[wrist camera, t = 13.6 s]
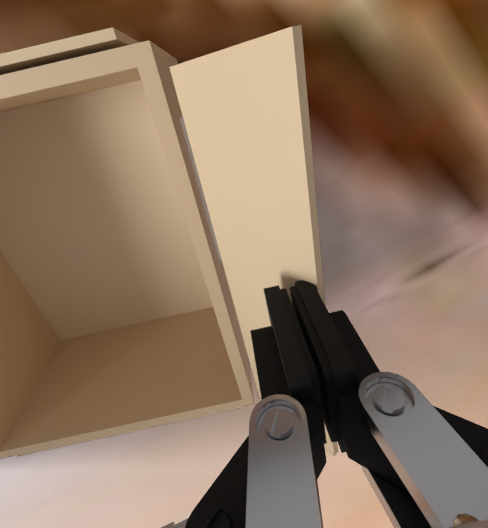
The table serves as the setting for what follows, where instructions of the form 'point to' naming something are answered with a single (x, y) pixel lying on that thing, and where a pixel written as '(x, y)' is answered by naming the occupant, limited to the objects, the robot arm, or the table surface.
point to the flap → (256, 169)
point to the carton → (105, 251)
